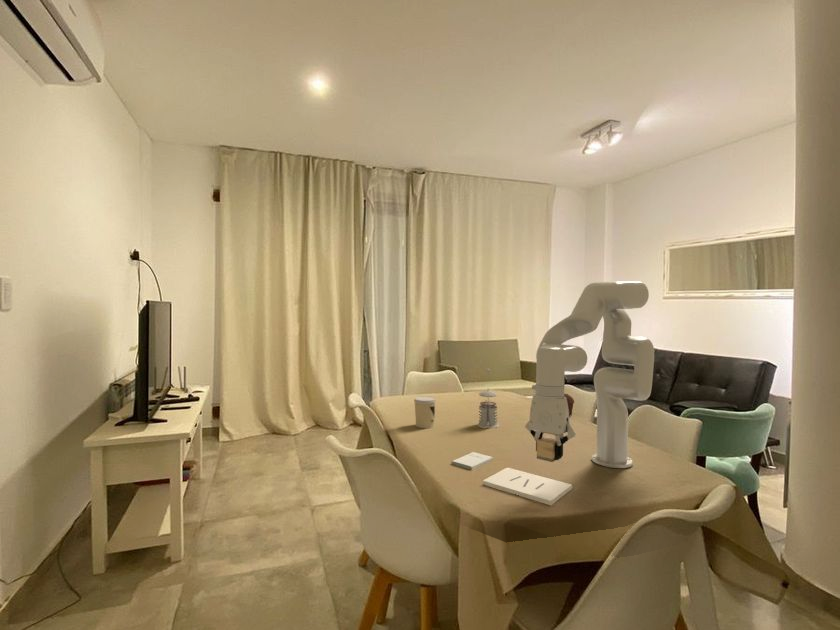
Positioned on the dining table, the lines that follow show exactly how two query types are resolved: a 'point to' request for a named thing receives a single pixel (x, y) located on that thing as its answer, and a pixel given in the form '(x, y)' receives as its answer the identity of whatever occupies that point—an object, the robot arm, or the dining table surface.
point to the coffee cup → (424, 411)
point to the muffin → (569, 403)
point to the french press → (488, 411)
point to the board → (528, 485)
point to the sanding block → (546, 448)
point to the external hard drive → (472, 460)
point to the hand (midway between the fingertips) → (549, 456)
